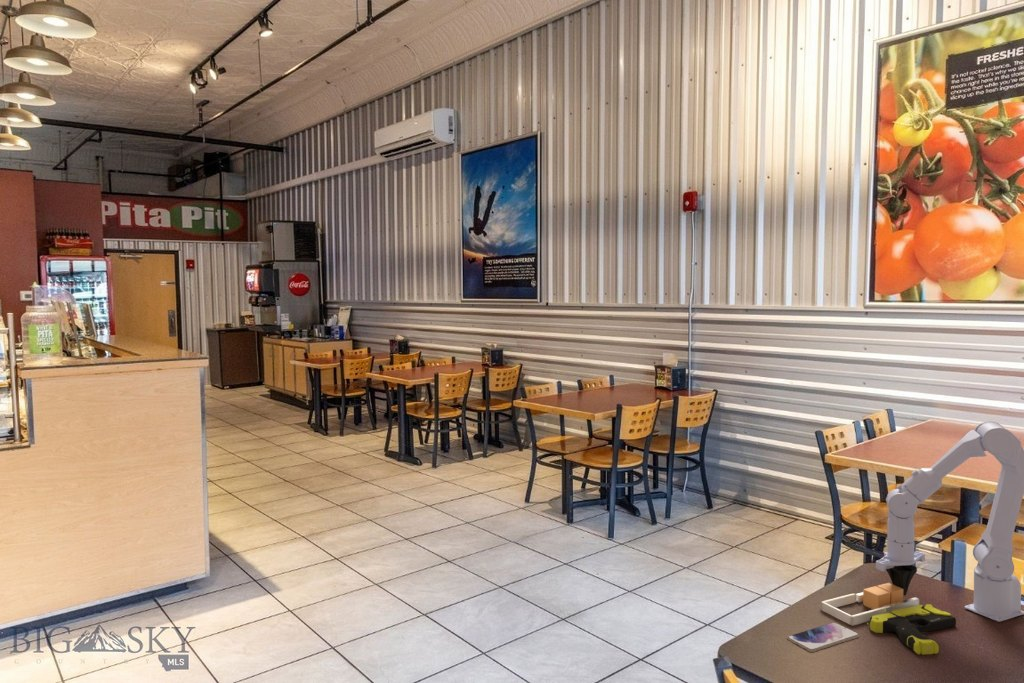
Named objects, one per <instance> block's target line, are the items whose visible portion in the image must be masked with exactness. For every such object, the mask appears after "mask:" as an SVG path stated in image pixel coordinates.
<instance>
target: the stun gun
mask: <svg viewBox="0 0 1024 683" xmlns="http://www.w3.org/2000/svg"><path fill="white" fill-rule="evenodd" d="M866 624H867V625H869V630H870V631H872V632H873V633H876V634H877V633H879V634H885V633H896V635H897V636H898V637H899V639H900V642H901V643H902V644H904V645H905V646H906V647H908V648H909V649H911V650H912V651H913V652H914V653H915V654H917V655H919V656H920V655H933V654H938V653H939V651H940V647H939V644H938V643H937V642H936V641H935V640H933V639H931V638H930V637H929V636H927V635H925V634H924V633H925V632H932V631H933V632H934V631H938V630H943V629H948V628H951V627H956V625H957V619H956V617H954V616H953V615H952V614H951V613H950V612H947V611H943V610H941V609H938V608H935V607H933V605H932V604H930V603H926V604H925V606H924V604H919V605H918V606H913V607H908V608H903V609H898V610H892V612H890V613H884V614H879V615H874V616H871V618H870V621H869V622H866Z"/></svg>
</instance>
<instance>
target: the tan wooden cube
mask: <svg viewBox="0 0 1024 683" xmlns="http://www.w3.org/2000/svg"><path fill="white" fill-rule="evenodd" d="M862 592H863V602H862V604H863V606H864V607H866V608H868V609H871V610H874V609H877V608H881V607H882V606H885V605H889V604H890V592H888V591H886V590H883V589H881V588H879V587H877V585H875V586H870V587H866V588H863V591H862Z"/></svg>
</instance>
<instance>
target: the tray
mask: <svg viewBox="0 0 1024 683" xmlns="http://www.w3.org/2000/svg"><path fill="white" fill-rule="evenodd" d="M854 603H856V593H850V594H846V595H845V594H844V595H841V596H838V597H834V598H831V599H830V598H829V599H825V600H823V601H820V611H822V612H825V613H826V614H828V615H830V616H832V617H834V618H836V619H838V620H840V621H842V622H844V623H846V624H848V625H850V626H857V625H860V624H863V623H868V622H870V618H871V616H874V615H879V614H884V613H885V609H886V608H885V607H881V608H877V609H874V610H873V609H871V610H868V611H867V610H866V611H864V612H859V613H856V614H852V615H851V614H849V613H847V612H845V611H843V610H841V609H840V608H841V607H843V606H846V605H851V604H854ZM839 607H840V608H839Z"/></svg>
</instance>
